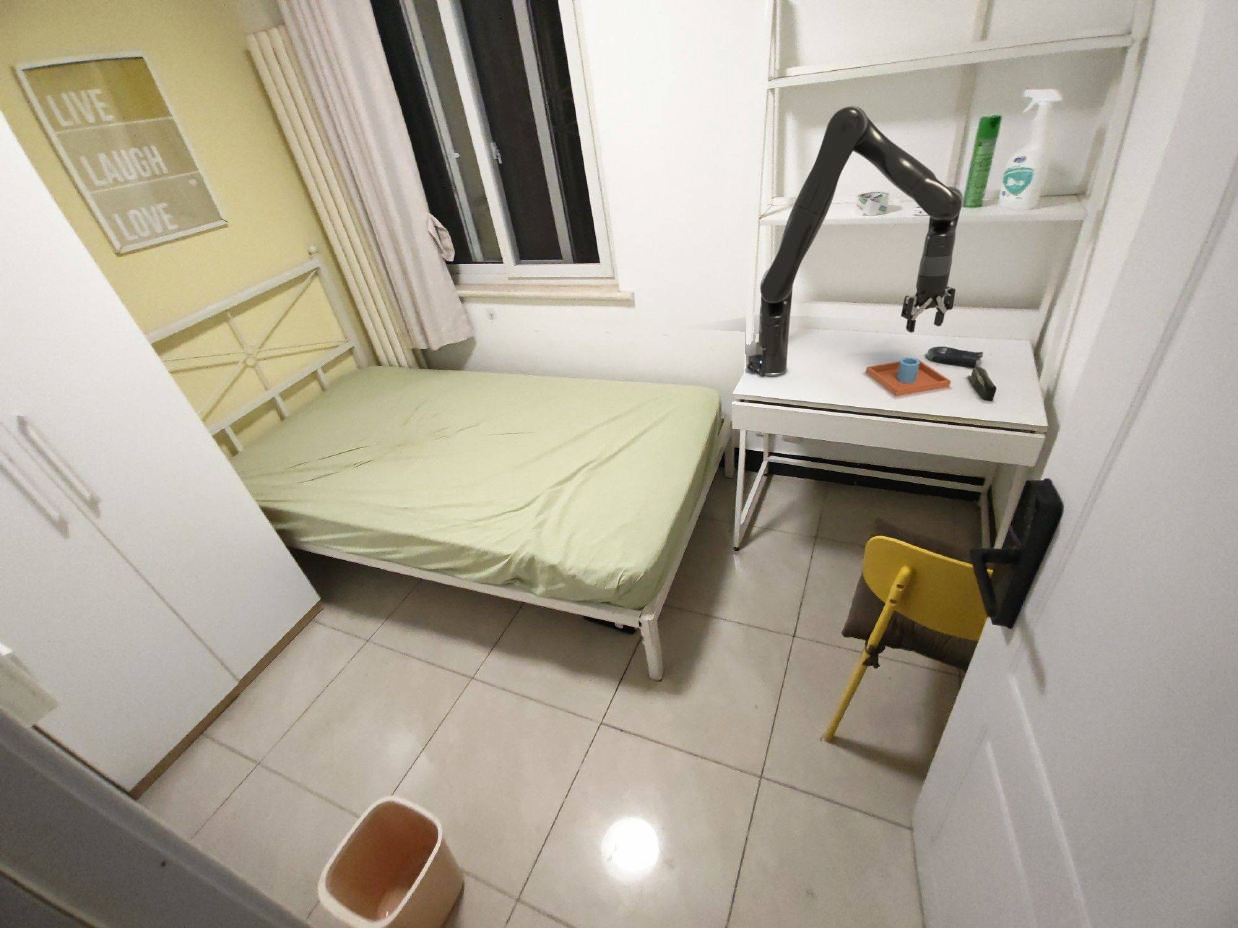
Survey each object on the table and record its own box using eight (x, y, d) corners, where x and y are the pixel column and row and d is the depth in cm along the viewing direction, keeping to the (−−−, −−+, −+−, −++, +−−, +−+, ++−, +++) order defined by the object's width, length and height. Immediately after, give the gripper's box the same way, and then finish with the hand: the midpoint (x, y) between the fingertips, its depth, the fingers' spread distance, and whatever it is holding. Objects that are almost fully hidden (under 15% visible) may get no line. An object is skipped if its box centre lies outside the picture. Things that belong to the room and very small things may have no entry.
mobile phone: (999, 387, 152) (980, 362, 163) (987, 387, 152) (969, 362, 164) (994, 403, 155) (976, 377, 166) (982, 403, 155) (964, 377, 167)
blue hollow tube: (903, 384, 167) (906, 366, 163) (893, 377, 171) (896, 359, 168) (919, 381, 167) (923, 363, 164) (909, 374, 171) (912, 356, 168)
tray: (895, 397, 162) (897, 390, 161) (865, 373, 176) (866, 366, 174) (949, 388, 163) (951, 380, 162) (915, 365, 177) (916, 358, 175)
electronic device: (979, 362, 177) (929, 348, 183) (987, 347, 173) (935, 334, 179) (972, 378, 172) (921, 363, 178) (979, 363, 168) (927, 348, 174)
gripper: (948, 262, 153) (937, 319, 162) (901, 272, 151) (892, 329, 160) (968, 268, 147) (955, 327, 156) (919, 279, 145) (909, 338, 154)
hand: (923, 328), depth 158 cm, fingers open, 8 cm apart
